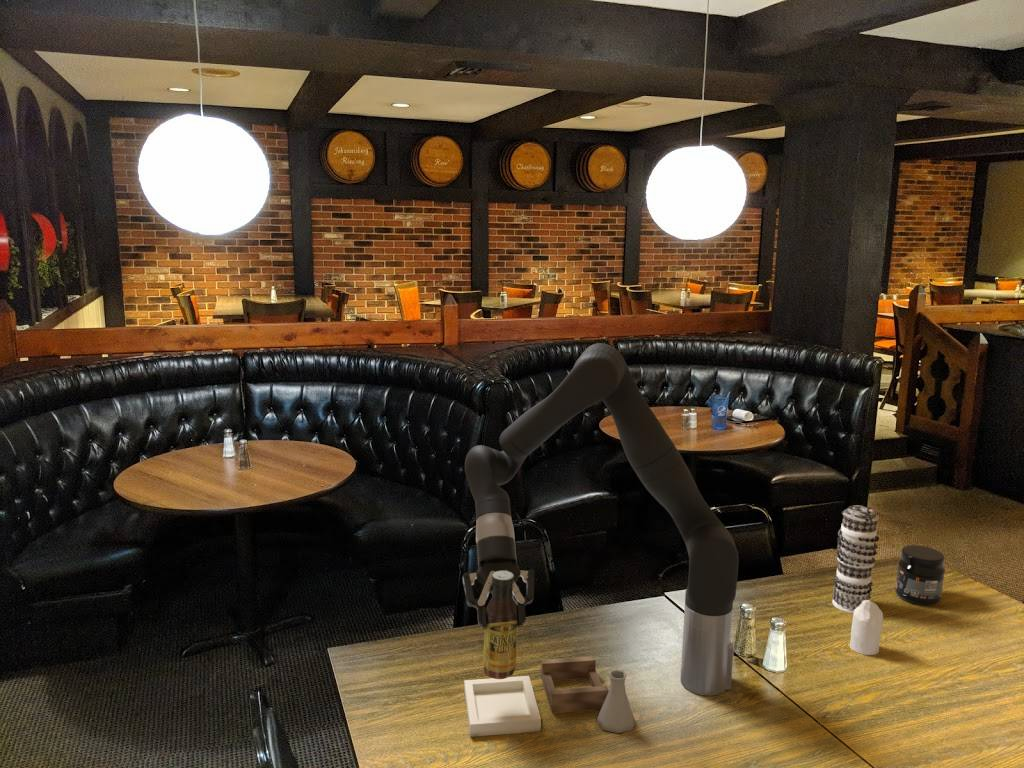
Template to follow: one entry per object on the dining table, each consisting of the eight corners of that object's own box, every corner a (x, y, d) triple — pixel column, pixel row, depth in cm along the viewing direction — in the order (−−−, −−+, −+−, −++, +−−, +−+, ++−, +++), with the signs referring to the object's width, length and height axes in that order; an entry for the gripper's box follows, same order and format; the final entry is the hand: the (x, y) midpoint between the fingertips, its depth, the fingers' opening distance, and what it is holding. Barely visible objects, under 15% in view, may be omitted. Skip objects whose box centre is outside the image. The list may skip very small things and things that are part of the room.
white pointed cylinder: (882, 594, 174) (887, 606, 169) (876, 644, 177) (881, 657, 171) (853, 591, 175) (857, 603, 170) (847, 640, 178) (851, 653, 173)
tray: (528, 686, 160) (528, 675, 159) (540, 731, 146) (540, 719, 146) (464, 691, 158) (464, 680, 157) (470, 736, 144) (470, 724, 144)
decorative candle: (874, 602, 195) (885, 506, 190) (868, 618, 188) (879, 519, 182) (834, 593, 200) (844, 499, 195) (827, 608, 193) (837, 510, 187)
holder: (593, 673, 164) (593, 656, 164) (607, 708, 153) (608, 690, 152) (540, 677, 163) (541, 659, 162) (551, 713, 151) (552, 694, 150)
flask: (637, 734, 145) (640, 685, 143) (598, 734, 145) (599, 685, 143) (632, 710, 152) (634, 663, 150) (595, 709, 153) (596, 662, 150)
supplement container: (905, 583, 206) (911, 540, 203) (948, 598, 198) (954, 553, 195) (886, 595, 199) (891, 551, 197) (929, 611, 191) (935, 565, 189)
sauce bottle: (487, 683, 147) (487, 585, 142) (479, 665, 152) (479, 569, 148) (521, 678, 148) (522, 580, 144) (512, 660, 154) (513, 565, 150)
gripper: (459, 535, 151) (464, 623, 142) (534, 532, 153) (543, 619, 144) (457, 549, 157) (462, 635, 149) (529, 546, 159) (538, 630, 151)
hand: (502, 626), depth 146 cm, fingers closed on sauce bottle, 6 cm apart
